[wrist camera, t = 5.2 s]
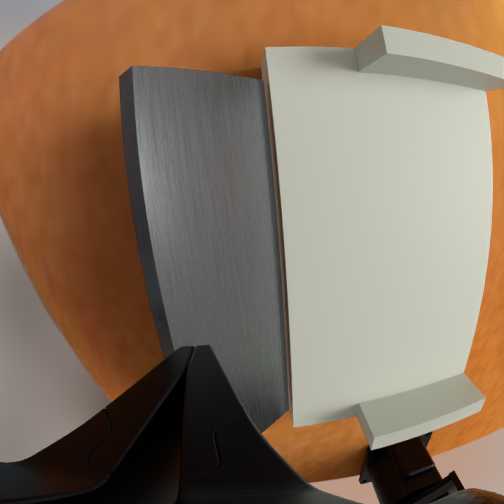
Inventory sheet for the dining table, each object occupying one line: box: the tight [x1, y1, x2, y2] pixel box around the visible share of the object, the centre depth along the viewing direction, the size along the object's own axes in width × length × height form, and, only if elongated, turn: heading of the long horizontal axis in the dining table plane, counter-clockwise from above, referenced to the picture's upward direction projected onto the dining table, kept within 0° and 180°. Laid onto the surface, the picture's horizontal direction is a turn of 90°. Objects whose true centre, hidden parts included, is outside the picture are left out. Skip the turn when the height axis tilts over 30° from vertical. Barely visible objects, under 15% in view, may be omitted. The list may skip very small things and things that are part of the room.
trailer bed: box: [261, 25, 504, 450], centre depth 14 cm, size 20×12×6 cm, turn 6°
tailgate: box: [119, 66, 289, 433], centre depth 13 cm, size 17×1×6 cm
